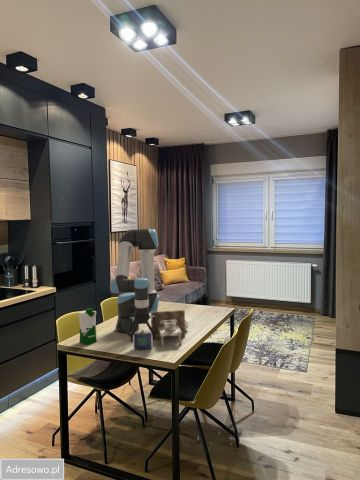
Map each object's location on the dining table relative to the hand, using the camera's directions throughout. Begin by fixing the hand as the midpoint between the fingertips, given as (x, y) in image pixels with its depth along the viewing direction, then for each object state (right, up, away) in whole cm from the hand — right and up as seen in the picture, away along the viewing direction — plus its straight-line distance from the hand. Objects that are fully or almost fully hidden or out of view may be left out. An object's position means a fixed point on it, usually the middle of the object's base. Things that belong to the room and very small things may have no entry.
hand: (142, 347), depth 201 cm
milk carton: (-33, -1, +13) cm, 36 cm away
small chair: (+14, 0, +11) cm, 18 cm away
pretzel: (+20, +1, +32) cm, 38 cm away
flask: (0, -1, 0) cm, 1 cm away
